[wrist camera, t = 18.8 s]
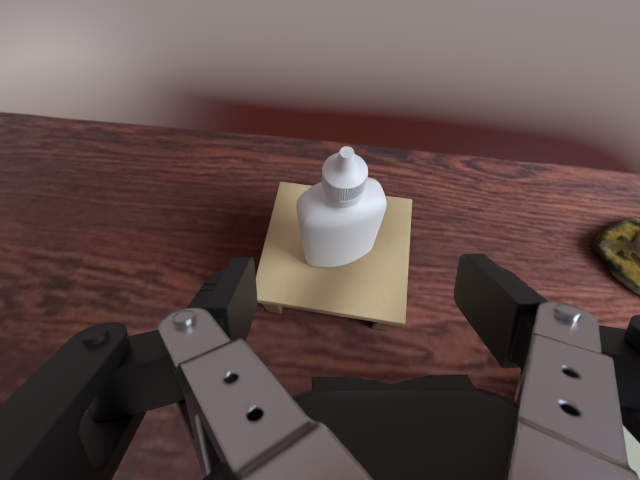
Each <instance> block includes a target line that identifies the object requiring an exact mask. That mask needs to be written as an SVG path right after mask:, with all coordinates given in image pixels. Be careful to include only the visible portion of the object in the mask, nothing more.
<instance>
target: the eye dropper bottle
mask: <svg viewBox="0 0 640 480" xmlns="http://www.w3.org/2000/svg"><path fill="white" fill-rule="evenodd" d="M367 176H368V168H367V165H366V163H365V161H363V159H362V158H360V157H359V156H358V155H356V154H354V150H353V149H352V148H351V147H343V148H341V150H340V152H339V153H336V154H334V155H332V156H330V157H329V158H328V159H327V160H326V161H325V162H324V164H323V168H322V181H321V182H319V183H318V184H316V185H314V186H312V187H311V188H309V189H308V190H307V191H305V192H304V193H303V194H302V195H301V196H300V197H299V198H298V200H297V215H298V222H299V229H300V236H301V242H302V247H303V252H304V255H305V259H306V261H307V263H308V264H310V265H312V266H316V267H337V266H342V265H346V264H349V263H351V262H354V261H356V260H358V259H359V258H361V257H363V256H364V255H366V254H367V253H368V252H369V251H370V250H371V248H372V247H373V244H374V241H375V239H376V236H377V233H378V231H379V228H380V225H381V222H382V219H383V217H384V213H385V210H386V206H387V201H386V197H385V194H384V192H383V189H382V187H381V185H380V184H379V182H378V181H377V180H375V179H372V178H369V177H367Z"/></svg>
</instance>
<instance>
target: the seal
mask: <svg viewBox="0 0 640 480" xmlns="http://www.w3.org/2000/svg"><path fill="white" fill-rule="evenodd" d="M592 248H593V250H594V251H595V252H596V253H597V254H598V255H600V257H601V258H602V260H603V261H604V262H605V263H607V264H608V266H609V269H610V273H611V274H612V275H613V276H614V277H615V278H616V279H617V280H619V281H620V282H621V283H622V284H624V285H625V286H626V287H627V288H629V289H630V290H631V291H633V292H635V293H637V294H638V295H640V217H638V218H632V219H628V220H624V221H621V222H619V223H617V224H615V225H613V226H611V227H609V228H607V229H604V230H603V231H602V232H601V233H600V234H598V235H597V236H596V238H595V239H594V241H593V245H592Z"/></svg>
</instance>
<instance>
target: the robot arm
mask: <svg viewBox="0 0 640 480" xmlns="http://www.w3.org/2000/svg"><path fill="white" fill-rule="evenodd" d="M454 298H455V303H456V305H457V307H458V308H459V310H460V311H461V312H462V314H463V315H464V316H465V318H466V319H467V320H468V322H469V323H470V324H471V326H472V327H473V329H474V330H475V331H476V333H477V334H478V335H479V337H480V338H481V339H482V341H483V342H484V343H485V345H486V346H487V348H488V349H489V350H490V352H491V353H492V354H493V356H494V357H495V358H496V360H497V361H498V363H499V364H500V365H501V367H502V368H519V367H520V368H521V372H520V376H519V380H518V385H517V389H516V394H515V398H514V402H513V401H511V400H509V399H507V398H505V397H503V396H500V395H498V394H495V393H492V392H490V391H486V390H482V389H479V388H474V386H473V384H472V382H471V381H470V379H469V377H468V375H430V376H425V377H421V378H417V379H412V380H408V381H404V382H400V383H396V384H387V383H381V382H376V381H371V380H365V379H360V378H354V377H312V390H309V391H305V392H302V393H299V394H297V395H295V396H293V397H291V396H290V395H289V393H288V392H287V391H286V390H285V389H284V387H283V386H282V385H281V384H280V383H279V382H278V380H277V379H276V378H275V377H274V376H273V374H272V373H271V372H270V371H269V370H268V368H267V367H266V366H265V365H264V364H263V363H262V361H261V360H260V359H259V358H258V357H257V355H256V354H255V353H254V352H253V351H252V349H251V348H250V347H249V346H248V345H247V343H246V338H247V335H248V332H249V329H250V326H251V323H252V320H253V317H254V314H255V311H256V307H257V287H256V277H255V267H254V260H253V258H252V257H234V258H232V259H231V261H230V262H229V264H228V266H227V267H226V269H225V270H218V271H216V272H215V273H213V274H212V275H210V276H209V277H208V278H207V280H206V281H205V283H204V285H203V286H202V287H201V289H200V292H198V293H197V294H196V296H195V297H194V299H193V300H192V302H191V303H190V305H189V306H188V307H187V308H185V309H181V310H178V311H175V312H173V313H171V314H169V315H167V316H166V317H165V318H163V319H162V320H161V322H160V323H159V325H158V330H156V331H152V332H147V333H142V334H137V335H132V336H128V333H127V330H126V327H125V326H124V325H123V324H120V323H104V324H99V325H95V326H92V327H90V328H87V329H85V330H83V331H81V332H79V333H77V334H76V335H74V336H73V337H72V338H71V339H69V340H68V341H67V342H66V343H65V344H64V345H63V346H62V347H61V348H60V349H59V350H58V351H57V352H56V353H55V354H54V355H53V356H52V357H51V358H50V359H49V360H48V361H47V362H46V363H45V364H44V365H43V366H41V367H40V368H39V369H38V370H37V371H36V372H35V373H34V374H33V375H32V376H31V377H30V378H29V379H28V380H27V381H26V382H25V383H24V384H23V385H22V386H21V387H20V388H19V389H18V390H17V391H16V392H15V393H14V394H13V395H12V396H11V397H10V398H8V399H7V400H6V401H5V402H4V403H3V404H2V405H1V406H0V480H112V478H113V476H114V474H115V472H116V470H117V468H118V466H119V464H120V462H121V460H122V458H123V456H124V454H125V452H126V450H127V448H128V447H129V445H130V443H131V441H132V439H133V437H134V435H135V433H136V431H137V429H138V427H139V425H140V423H141V421H142V419H143V417H144V415H145V414H146V411H148V410H152V409H155V408H159V407H163V406H166V405H170V404H173V403H176V405H177V408H178V410H179V413H180V415H181V417H182V420H183V422H184V425H185V427H186V430H187V432H188V434H189V437H190V439H191V442H192V444H193V447H194V449H195V452H196V454H197V457H198V460H199V464H200V467H201V470H202V473H203V477H204V479H203V480H640V479H639V477H638V475H637V473H636V472H635V471H634V470H632V469H631V468H630V466H629V464H628V458H627V452H626V445H625V438H624V431H623V426H624V427H625V428H626V429H627V430H628V431H629V432H630V434H631V435H632V436H633V437H634V438H635V439H636V440H637V441H638V442H639V443H640V315H636V316H633V317H632V318H631V320H630V323H629V325H628V328H627V330H625V329H619V328H613V327H606V326H600V325H599V324H598V321H597V319H596V318H595V317H594V316H593V315H591V314H590V313H588V312H587V311H585V310H583V309H581V308H578V307H576V306H573V305H569V304H565V303H560V302H548V301H547V300H546V299H545V298H543V297H542V296H541V295H540V294H538V293H537V292H536V291H535V290H533V289H532V288H531V287H528V285H527V284H526V283H525V282H523V281H521V280H520V278H518V277H517V276H516V275H515V274H513V273H512V272H510V271H508V270H506V269H504V268H502V267H500V266H498V265H497V264H495V263H494V262H493V261H492V260H490V259H489V258H488V257H487V256H486V255H484V254H462V255H461V256H460V258H459V263H458V269H457V275H456V282H455V288H454ZM87 408H88V410H87ZM86 410H87V412H86V413H85V411H86ZM84 413H85V415H84ZM83 415H84V416H83Z"/></svg>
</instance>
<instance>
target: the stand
mask: <svg viewBox="0 0 640 480" xmlns="http://www.w3.org/2000/svg"><path fill="white" fill-rule="evenodd" d="M311 187H312V186H309V185H301V184H294V183H286V182H280V185H279V189H278V192H277V196H276V200H275V204H274V208H273V212H272V216H271V220H270V224H269V228H268V231H267V235H266V239H265V243H264V247H263V251H262V255H261V259H260V263H259V267H258V270H257V274H256V287H257V303H261V304H262V305H263V306H264V307H265V309H266V310H267V311H269V312H275V313H282V310H283V307H287V308H293V309H299V310H305V311H311V312H317V313H323V314H330V315H336V316H342V317H348V318H354V319H360V320H366V321H372V329H378V330H384V331H387V330H388V329H389V328H390V327H392V326H393V325H397V326H403V325H404V324H405V319H406V301H407V282H408V264H409V246H410V227H411V209H412V199H405V198H398V197H390V196H385V197H386V201H387V206H386V210H385V213H384V217H383V219H382V222H381V225H380V228H379V231H378V233H377V236H376V239H375V241H374V244H373V247H372V248H371V250H370V251H369V252H368V253H367V254H366V255H364V256H363V257H361V258H359V259H358V260H356V261H354V262H351V263H349V264H346V265H342V266H337V267H316V266H312V265H310V264H308V263H307V261H306V259H305V255H304V252H303V247H302V242H301V236H300V229H299V222H298V215H297V200H298V198H299V197H300V196H301V195H302V194H303V193H304V192H305V191H307V190H308V189H309V188H311Z"/></svg>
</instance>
